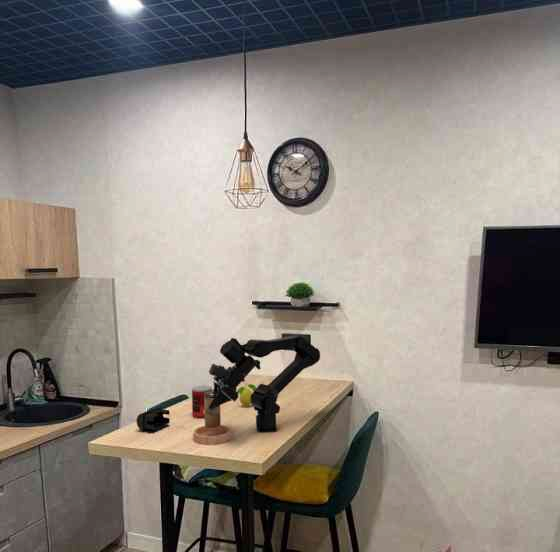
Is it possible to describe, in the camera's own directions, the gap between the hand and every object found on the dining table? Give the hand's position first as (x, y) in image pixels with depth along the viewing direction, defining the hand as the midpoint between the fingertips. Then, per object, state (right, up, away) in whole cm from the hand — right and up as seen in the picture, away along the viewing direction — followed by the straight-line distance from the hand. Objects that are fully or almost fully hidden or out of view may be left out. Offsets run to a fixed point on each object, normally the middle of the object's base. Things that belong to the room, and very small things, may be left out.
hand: (208, 406), depth 160 cm
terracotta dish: (+1, -11, 0) cm, 11 cm away
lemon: (+10, -11, +39) cm, 42 cm away
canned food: (-6, -11, +26) cm, 29 cm away
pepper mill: (+2, -7, 0) cm, 7 cm away
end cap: (-21, -11, +11) cm, 27 cm away
